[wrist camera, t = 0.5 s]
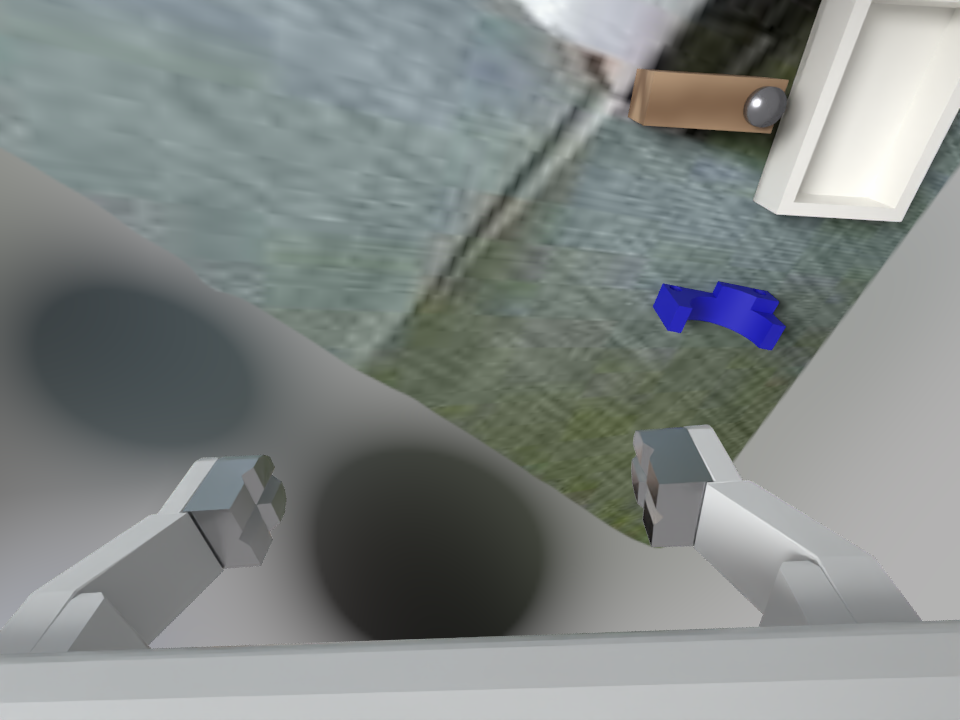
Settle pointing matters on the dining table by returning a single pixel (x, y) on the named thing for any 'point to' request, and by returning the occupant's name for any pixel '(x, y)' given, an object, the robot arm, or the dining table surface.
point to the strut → (707, 101)
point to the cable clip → (722, 310)
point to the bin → (865, 110)
